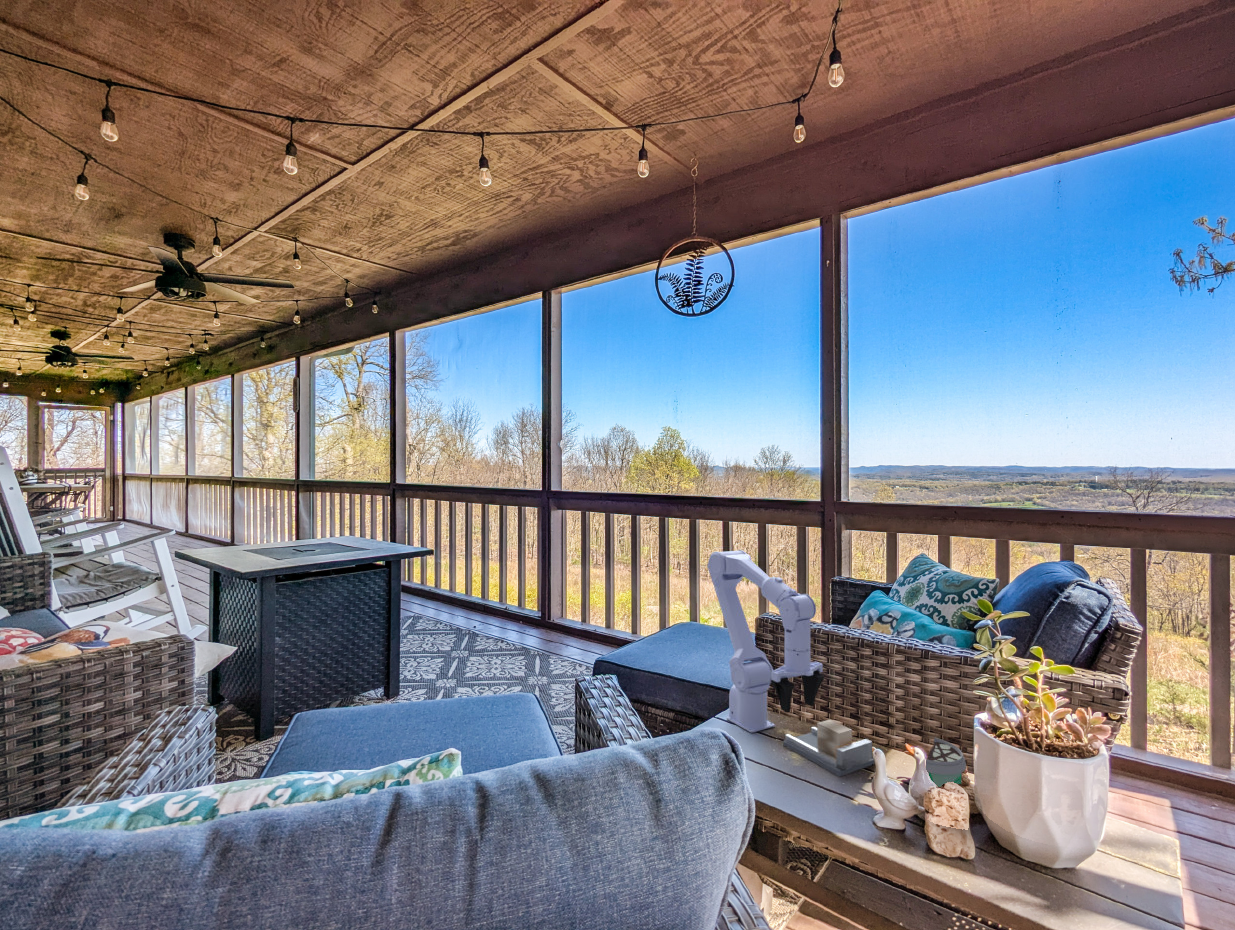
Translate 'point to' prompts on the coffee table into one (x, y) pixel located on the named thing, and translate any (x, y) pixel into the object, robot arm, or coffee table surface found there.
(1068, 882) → the coffee table surface
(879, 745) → the coffee table surface
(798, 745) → the rail board
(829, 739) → the birch block
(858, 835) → the coffee table surface
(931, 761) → the food container
